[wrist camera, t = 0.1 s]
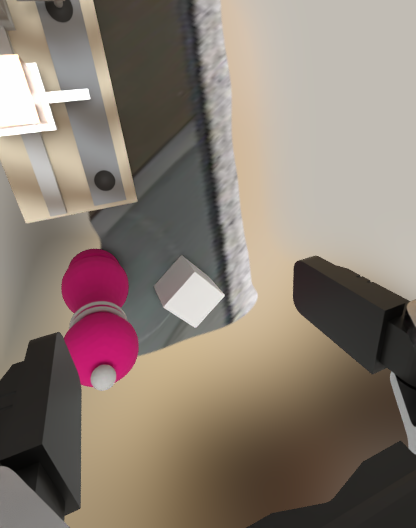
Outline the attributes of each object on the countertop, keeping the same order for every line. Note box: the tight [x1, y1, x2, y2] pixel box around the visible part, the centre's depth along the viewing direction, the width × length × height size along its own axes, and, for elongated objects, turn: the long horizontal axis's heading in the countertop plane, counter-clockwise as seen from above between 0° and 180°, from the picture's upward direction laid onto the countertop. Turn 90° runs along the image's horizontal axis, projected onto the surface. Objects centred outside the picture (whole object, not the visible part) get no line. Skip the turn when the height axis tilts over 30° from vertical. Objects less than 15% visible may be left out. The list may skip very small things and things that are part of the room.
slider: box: [0, 54, 90, 137], centre depth 23 cm, size 5×8×8 cm, turn 96°
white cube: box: [154, 255, 225, 328], centre depth 41 cm, size 6×6×6 cm
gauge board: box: [0, 0, 137, 223], centre depth 27 cm, size 20×12×8 cm, turn 6°
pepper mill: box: [62, 249, 138, 391], centre depth 29 cm, size 7×7×20 cm
